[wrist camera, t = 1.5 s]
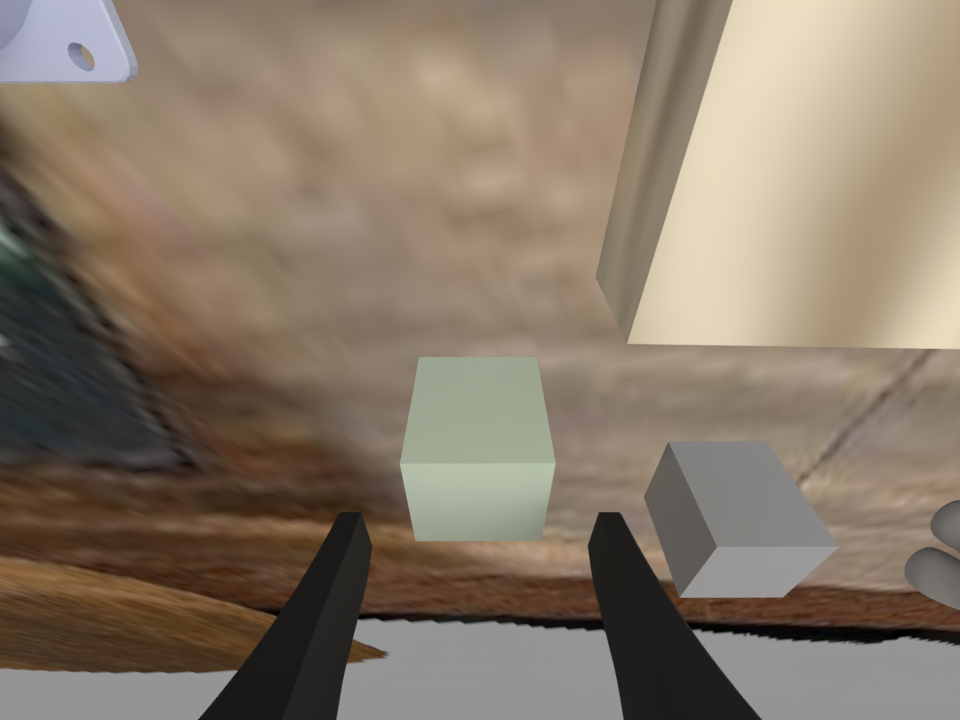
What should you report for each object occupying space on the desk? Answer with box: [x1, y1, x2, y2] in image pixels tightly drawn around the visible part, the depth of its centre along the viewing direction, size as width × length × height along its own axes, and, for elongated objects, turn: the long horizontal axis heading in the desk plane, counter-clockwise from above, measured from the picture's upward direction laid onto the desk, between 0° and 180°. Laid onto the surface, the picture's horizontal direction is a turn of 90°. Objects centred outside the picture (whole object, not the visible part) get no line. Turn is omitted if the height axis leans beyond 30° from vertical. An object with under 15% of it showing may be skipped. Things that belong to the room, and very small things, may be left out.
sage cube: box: [400, 357, 556, 541], centre depth 15 cm, size 4×4×5 cm
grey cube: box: [644, 441, 840, 598], centre depth 18 cm, size 4×4×5 cm
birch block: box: [596, 0, 960, 349], centre depth 9 cm, size 9×9×4 cm
